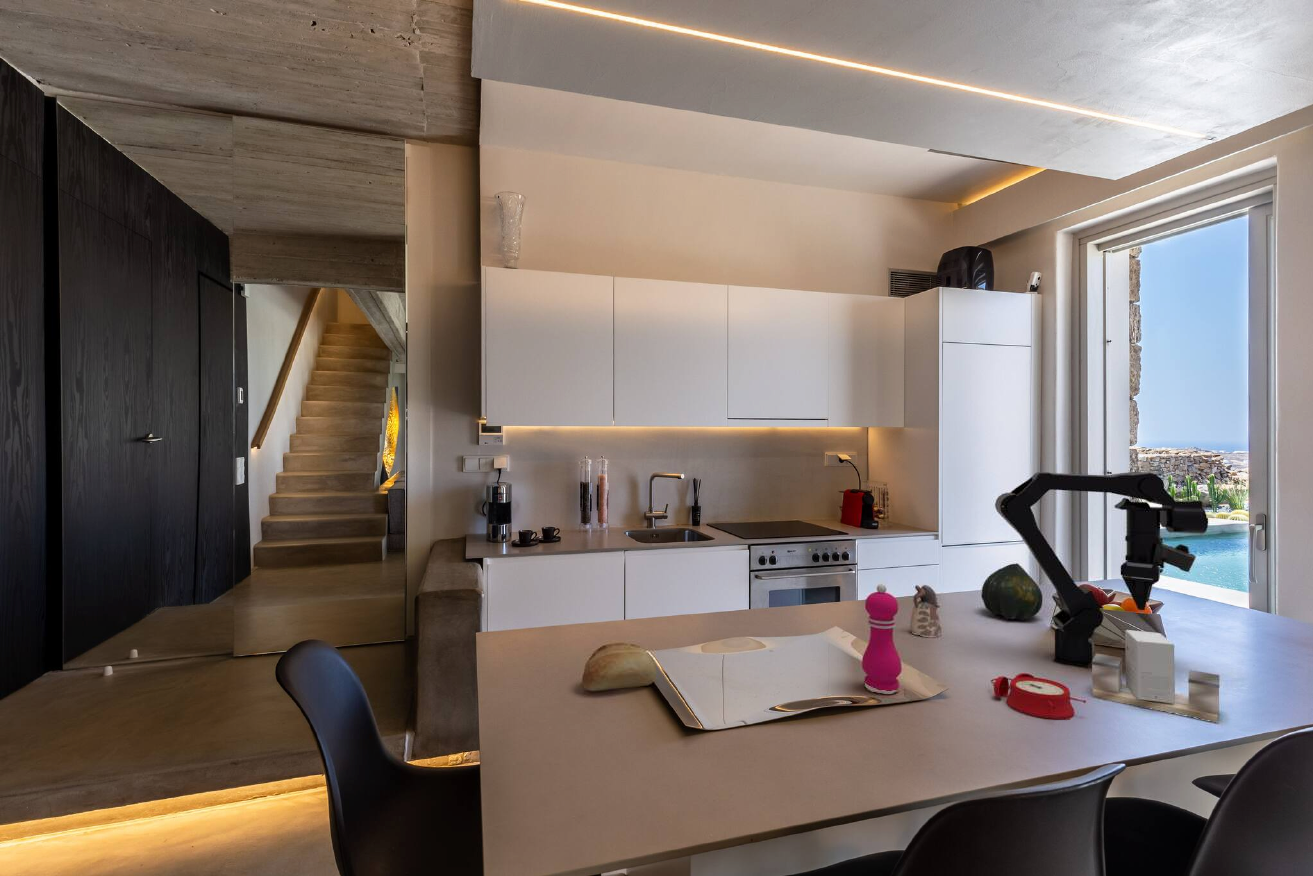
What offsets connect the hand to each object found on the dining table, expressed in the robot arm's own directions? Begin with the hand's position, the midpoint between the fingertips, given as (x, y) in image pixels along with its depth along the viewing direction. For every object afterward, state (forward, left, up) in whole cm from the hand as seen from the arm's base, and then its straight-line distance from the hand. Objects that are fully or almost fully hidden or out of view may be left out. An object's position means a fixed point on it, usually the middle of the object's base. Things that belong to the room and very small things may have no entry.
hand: (1143, 605), depth 137 cm
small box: (+2, -22, -12) cm, 25 cm away
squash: (-31, +27, -13) cm, 43 cm away
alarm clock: (-14, -37, -14) cm, 42 cm away
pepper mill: (-37, -48, -13) cm, 62 cm away
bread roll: (-76, -80, -13) cm, 111 cm away
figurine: (-43, -5, -13) cm, 45 cm away
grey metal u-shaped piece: (+3, -22, -13) cm, 26 cm away
